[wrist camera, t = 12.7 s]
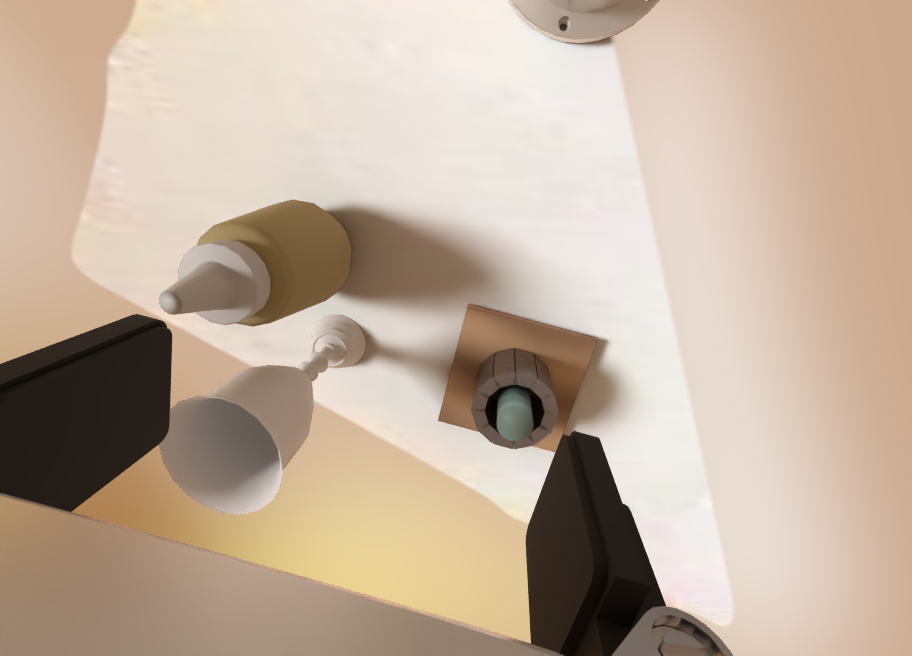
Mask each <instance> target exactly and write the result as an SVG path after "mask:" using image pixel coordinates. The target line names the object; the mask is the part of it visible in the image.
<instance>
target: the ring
mask: <svg viewBox="0 0 912 656" xmlns="http://www.w3.org/2000/svg"><path fill="white" fill-rule="evenodd" d="M514 384H516V385H519V386H523V387H527V388H530V389H532V390H533V391H534V392H535V393H536V394H537V395H536V396H535V397H534V398H533V399H532V400H531V408H532V418H533V430H532V432H531V434H530V435H529V436H528V437H527V438H525V439H523V440H520V441H511V440H508V439H506V438H504V437H503V436H502V435H501V434H500V433H499V431H498V429H497V406H498V401H497V400H496V399H495V398H494V397H493V396H492V394H493V393H494V392H495V391H496V390H497V389H499V388H500V387H505V386H509V385H514ZM471 412H472V415H473V418H474V422H475V425H476V428H477V430H478V431H479V432H480V433H481V434H483V435H484V436H485V437H486V438H487V439H488V440H489V441H490V442H491V443H492V442H493V444H496V445H500V446H503V447H507V448H511V449H513V447H514V449H518V448H523V447H529V446H534V444H535V445H536V444H537V443H539V442H540V441H541V440H542V439H544V438H545V437H546V436H548V435H549V434H550V433H551V431H552V430H553V427H554V425H555V422H556V419H557V417H558V414H559V413H558V407H557V403H556V398H555V394H554V389H553V385H552V381H551V376H550V372H549V368H548V366H547V365H546V364H545V363H544V362H543V361H542V360H541V359H540V358H539V357H538V356H537V355H536V354H535V353H533V352H529V351H526V350H522V349H518V348H515V349H514V348H510V349H505V350H501V351H496V352H495V353H493V354H492V355H491V356H489V357H488V358H487V359H486V360H485V361H484V362H483V363H482V364H481V366H480V367H479V371H478V374H477V378H476V381H475V387H474V394H473V400H472V407H471Z"/></svg>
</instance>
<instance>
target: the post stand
mask: <svg viewBox="0 0 912 656" xmlns="http://www.w3.org/2000/svg"><path fill="white" fill-rule="evenodd" d="M596 343H597V341H596V339H595V338H594V337H592V336H588V335H584V334H580V333H576V332H573V331H569V330H565V329H561V328H557V327H554V326H550V325H546V324H542V323H538V322H535V321H531V320H527V319H523V318H519V317H516V316H512V315H508V314H504V313H500V312H497V311H493V310H489V309H485V308H481V307H478V306H474V305H470V304H468V307H467V311H466V315H465V319H464V323H463V327H462V330H461V334H460V338H459V342H458V346H457V350H456V353H455V357H454V361H453V365H452V369H451V373H450V376H449V380H448V384H447V388H446V392H445V396H444V399H443V403H442V407H441V411H440V415H439V419H438V421H441V422H445V423H448V424H452V425H456V426H460V427H463V428H467V429H471V430H474V431H478V430H477V428H476V425H475V422H474V418H473V415H472V412H471V407H472V400H473V394H474V387H475V381H476V378H477V374H478V371H479V367H480V366H481V364H482V363H483V362H484V361H485V360H486V359H487V358H488V357H489V356H491V355H492V354H493V353H495V352H496V351H501V350H505V349H510V348H514V349H515V348H518V349H522V350H526V351H529V352H533V353H535V354H536V355H537V356H538V357H539V358H540V359H541V360H542V361H543V362H544V363H545V364H546V365H547V366H548V368H549V372H550V376H551V381H552V385H553V389H554V394H555V398H556V403H557V407H558V413H559V414H558V417H557V419H556V422H555V425H554V427H553V430H552V431H551V433H550V434H549V435H548V436H546V437H545V438H544V439H542V440H541V441H540V442H539V443H537V444H536V445H535V444H534V447H538V448H541V449H545V450H549V451H552V452H556V450H557V447H558V444H559V442H560V439H561V437H562V434H563V432H564V429H565V426H566V424H567V421H568V418H569V416H570V413H571V410H572V408H573V405H574V402H575V400H576V397H577V394H578V391H579V389H580V386H581V383H582V381H583V378H584V375H585V373H586V370H587V367H588V365H589V362H590V359H591V357H592V354H593V351H594V349H595V346H596ZM536 395H537V394H536V393H535V392H534V391H533V390H532V389H530V388H527V387H523V386H519V385H516V384H514V385H509V386H505V387H500V388H499V389H497V390H496V391H495V392H494V393H493V394H492V396H493V397H494V398H495V399H496V400H497V401H498V406H497V429H498V431H499V433H500V434H501V435H502V436H503V437H504V438H506V439H508V440H511V441H520V440H523V439H525V438H527V437H528V436H529V435H530V434H531V432H532V430H533V418H532V408H531V400H532V399H533V398H534V397H535V396H536ZM478 432H479V431H478Z"/></svg>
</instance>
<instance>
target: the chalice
mask: <svg viewBox="0 0 912 656" xmlns="http://www.w3.org/2000/svg"><path fill="white" fill-rule="evenodd" d="M365 348H366V341H365V336H364V334H363V331H362V329H361V328H360V327H359V326H358V325H357V323H356V322H354V321H353V320H351V319H350V318H348V317H345V316H342V315H329V316H326V317H323V318H322V319H321V320H319V321H318V322H317V324H316V325H315V327H314V328H313V332H312V340H311V349H312V353H311V354H309V356H308V358H307V362H303V363H301V364H300V365H299V367H298V368H295V367H287V366H273V365H267V366H260V367H253V368H249V369H246V370H243V371H240V372H237V373H236V374H235V375H233V376H232V377H231V378H229V379H228V380H226V381H225V382H224V383H222V384H221V385H219V386H218V387H217V388H215V389H214V390H213V391H211V392H210V393H209V394H207V395H206V396H196V397H192V398H189V399H186V400H183V401H180V402H178V403H177V404H176V405H175V406H174V407H173V408H172V409H170V425H169V431H168V434H167V435H166V437H165V439H164V440H163V441H162V442H161V443H160V444H159V447H160V450H161V455H162V459H163V462H164V464H165V466H166V468H167V470H168V471H169V473H170V475H171V477H172V479H173V480H174V481H175V482H176V483H177V484H178V485H179V486H180V488H181V489H182V490H183V491H184V492H185V493H186V494H187V495H188V496H190V497H191V498H193V499H194V500H196V501H197V502H199V503H200V504H202V505H203V506H205V507H208V508H211V509H213V510H216V511H219V512H222V513H229V514H246V513H250V512H254V511H258V510H260V509H261V508H262V507H264V506H265V505H267V504H268V503H270V502H271V501H272V499H273V498H274V496H275V495H276V493H277V491H278V490H279V488H280V483H281V478H282V471H283V470H284V468H285V467H286V466H287V464H288V463H289V462H290V460H291V459H292V458H293V456H294V455H295V454H296V452H297V451H298V450H299V448H300V447H301V446H302V444H303V443H304V441H305V440H306V438H307V436H308V434H309V429H310V423H311V418H312V413H313V407H314V406H313V405H314V404H313V389H312V383H311V381H314V380H315V379H316V378H317V376H318V373H321V372H324V371H325V370H326V369H327V367H329V368H342V367H349V366H352V365H354V364H355V363H357V362H358V361H360V359H361V358H362V356H363V355H364V352H365Z"/></svg>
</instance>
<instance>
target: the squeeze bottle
mask: <svg viewBox="0 0 912 656" xmlns="http://www.w3.org/2000/svg"><path fill="white" fill-rule="evenodd" d="M350 259H351V243H350V240H349V237H348V233H347V232H346V231H345V229H344V228H343V227H342V225H341V224H340V223H339V221H338V220H336V219H335V218H334V217H333V216H332V215H331V214H329V213H328V212H326V211H324V210H323V209H321V208H320V207H318V206H317V205H315V204H313V203H309V202H303V201H297V200H289V201H285V202H281V203H278V204H274V205H271V206H268V207H265V208H262V209H259V210H257V211H254V212H251V213H248V214H245V215H242V216H239V217H237V218H234V219H231V220H228V221H225V222H222V223H219V224H217V225H214V226H213V227H212V228H211V229H209V230H208V231H207V232H206V233H205V234H204V235H203V236H201V237H200V239H199V241H198V244H197V246H194V247H193V248H192V249H191V250H190V251H188V252H187V253H186V254H185V255H184V256H183V259H182V261H181V264H180V266H179V269H178V277H179V281H178V282H176V283H175V284H173V285H172V286H171V287H169V288H168V289H167V290H165V291H164V292H163V293H162V294H160V297H159V304H160V306H161V308H162V309H163V310H164V311H165V312H167V313H168V314H173V315H174V314H183V313H192V312H196V314H198V315H200V316H201V317H203V318H205V319H206V320H208V321H210V322H213V323H218V324H223V325H229V324H234V323H237V324H242V325H248V326H257V325H262V324H267V323H271V322H274V321H276V320H279V319H281V318H284V317H286V316H289V315H291V314H294V313H296V312H299V311H301V310H304V309H306V308H309V307H311V306H314V305H316V304H319V303H321V302H324V301H326V300H327V299H329V298H330V297H331V296H333V295H334V294H335V293H337V292H338V291H339V290H340V289H341V288H342V286H343V284H344V282H345V280H346V278H347V276H348V275H349V271H350Z"/></svg>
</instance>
